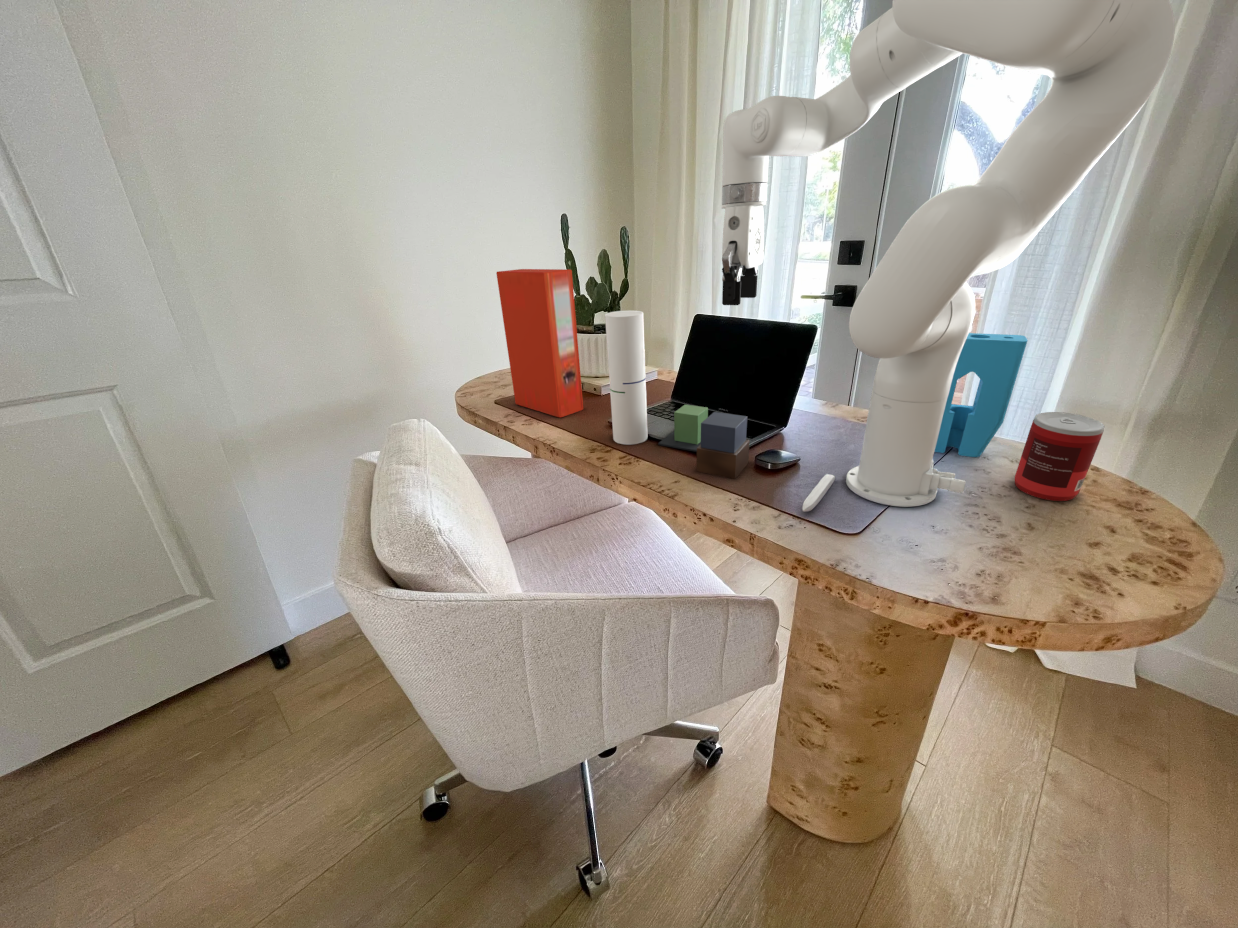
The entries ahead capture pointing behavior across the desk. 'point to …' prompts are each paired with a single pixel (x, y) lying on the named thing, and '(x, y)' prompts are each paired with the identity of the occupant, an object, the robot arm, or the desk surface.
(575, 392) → the file binder
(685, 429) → the green block
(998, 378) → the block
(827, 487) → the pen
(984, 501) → the desk surface
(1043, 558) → the desk surface
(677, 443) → the coaster
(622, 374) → the cylindrical container
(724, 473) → the base block
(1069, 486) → the canned food
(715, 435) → the mid block
